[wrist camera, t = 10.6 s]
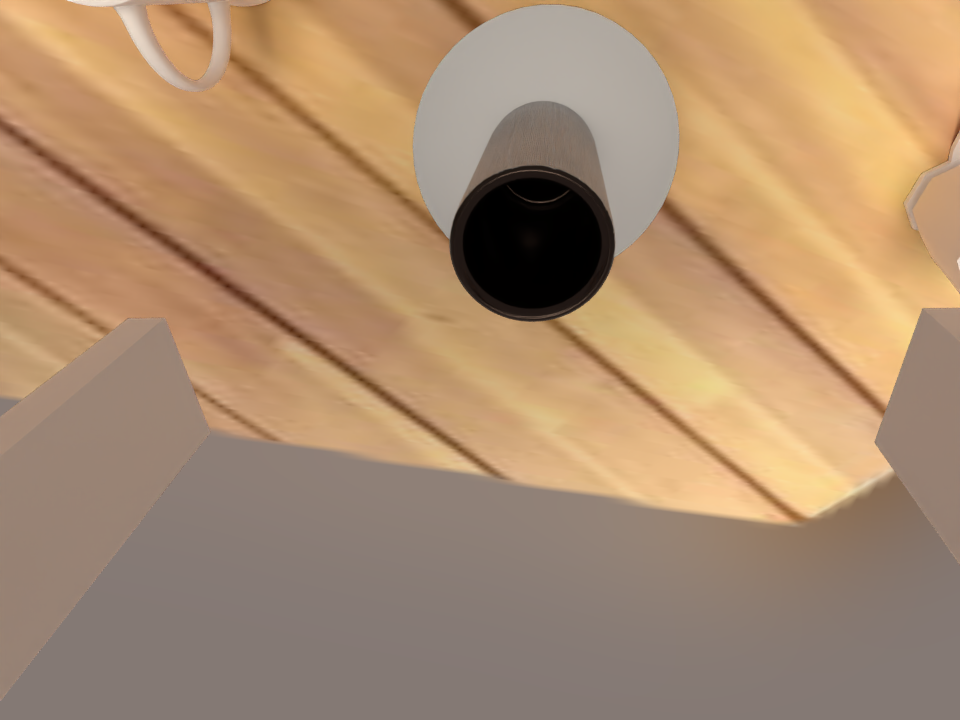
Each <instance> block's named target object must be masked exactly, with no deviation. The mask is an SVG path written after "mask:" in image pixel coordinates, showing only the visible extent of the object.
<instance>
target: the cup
mask: <svg viewBox="0 0 960 720" xmlns="http://www.w3.org/2000/svg"><path fill="white" fill-rule="evenodd" d="M904 206H905V209H906V212H907V215H908V219H909V222H910V225H911V228H913V229H914V230H918V231H919V233H920V236H921V238H922V240H923V242H924V244H925V246H926V248H927V250H928V252H929V254H930V256H931V258H932V259H933V260H934V262H935V263H936V264H937V265H938V266H939V268H940V269H941V270H942V271H943V273H944V274H945V275H946V276H947V278H948V279H949V280H950V281H951V283H952V284H953V285H954V287H955V288H956V289H957V291H958V292H959V293H960V131H959V133H958V135H957V137H956V139H955V141H954V142H953V144H952V146H951V149H950V153H949V158H948V161H946V162H944V163H942V164H940V165H938V166H936V167H934V168H932V169H930V170H928V171H926V172H923V173H921V175H920V177H919V178H918V180H917V182H916V183H915V185H914V186H913V188H912V190H911V191H910V193H909V195H908V196H907V198H906V200H905V201H904Z"/></svg>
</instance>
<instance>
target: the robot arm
mask: <svg viewBox="0 0 960 720" xmlns="http://www.w3.org/2000/svg"><path fill="white" fill-rule="evenodd" d="M209 433H210V430H209V427H208V425H207V422H206V420H205V417H204V414H203V412H202V409H201V407H200V404H199V402H198V399H197V397H196V394H195V392H194V389H193V387H192V384H191V382H190V379H189V377H188V374H187V372H186V369H185V367H184V364H183V362H182V359H181V357H180V354H179V352H178V349H177V347H176V344H175V342H174V339H173V336H172V334H171V331H170V329H169V326H168V324H167V321H166V319H165V318H128V319H127V320H125V321H124V322H123V323H121V324H120V325H119V326H117V327H116V328H115V329H114V330H112V331H111V332H110V333H108V334H107V335H106V336H104V337H103V338H102V339H101V340H99V341H98V342H97V343H95V344H94V345H93V346H91V347H90V348H89V349H88V350H86V351H85V352H84V353H82V354H81V355H80V356H79V357H77V358H76V359H75V360H73V361H72V362H71V363H69V364H68V365H67V366H66V367H64V368H63V369H62V370H60V371H59V372H58V373H56V374H55V375H54V376H53V377H51V378H50V379H49V380H47V381H46V382H45V383H43V384H42V385H41V386H40V387H38V388H37V389H36V390H34V391H33V392H32V393H30V394H29V395H28V396H27V397H25V398H24V399H23V400H21V401H20V402H19V403H18V404H16V405H15V406H14V407H12V408H11V409H10V410H8V411H7V412H6V413H5V414H3V415H2V416H1V417H0V701H1V700H2V698H3V697H4V696H5V695H6V693H7V692H8V691H9V689H10V688H11V687H12V686H13V684H14V683H15V682H16V681H17V679H18V678H19V677H20V675H21V674H22V673H23V672H24V670H25V669H26V668H27V666H28V665H29V664H30V663H31V661H32V660H33V659H34V657H35V656H36V655H37V654H38V652H39V651H40V650H41V649H42V647H43V646H44V645H45V643H46V642H47V641H48V640H49V638H50V637H51V636H52V634H53V633H54V632H55V631H56V629H57V628H58V627H59V626H60V624H61V623H62V622H63V620H64V619H65V618H66V617H67V615H68V614H69V613H70V611H71V610H72V609H73V608H74V606H75V605H76V604H77V602H78V601H79V600H80V599H81V597H82V596H83V595H84V593H85V592H86V591H87V590H88V588H89V587H90V586H91V584H92V583H93V582H94V581H95V579H96V578H97V577H98V576H99V574H100V573H101V572H102V570H103V569H104V568H105V566H106V565H107V564H108V563H109V561H110V560H111V559H112V558H113V556H114V555H115V554H116V553H117V551H118V550H119V549H120V547H121V546H122V545H123V544H124V542H125V541H126V540H127V538H128V537H129V536H130V534H131V533H132V532H133V531H134V529H135V528H136V527H137V526H138V524H139V523H140V522H141V521H142V519H143V518H144V517H145V515H146V514H147V513H148V512H149V510H150V509H151V508H152V506H153V505H154V504H155V503H156V501H157V500H158V499H159V497H160V496H161V495H162V494H163V492H164V491H165V490H166V488H167V487H168V486H169V485H170V483H171V482H172V481H173V479H174V478H175V477H176V476H177V474H178V473H179V472H180V471H181V469H182V468H183V467H184V465H185V464H186V463H187V462H188V460H189V459H190V458H191V456H192V455H193V454H194V453H195V451H196V450H197V449H198V447H199V446H200V445H201V444H202V442H203V441H204V440H205V439H206V437H207V436H208V435H209ZM875 444H876V445H877V447H878V448H879V450H880V451H881V453H882V454H883V455H884V457H885V458H886V460H887V461H888V463H889V464H890V465H891V467H892V468H893V470H894V471H895V473H896V474H897V476H898V477H899V478H900V480H901V481H902V483H903V484H904V486H905V487H906V489H907V490H908V491H909V493H910V494H911V496H912V497H913V499H914V500H915V501H916V503H917V504H918V506H919V507H920V509H921V510H922V511H923V513H924V514H925V516H926V517H927V519H928V520H929V522H930V523H931V524H932V526H933V527H934V529H935V530H936V532H937V533H938V535H939V536H940V538H941V539H942V540H943V542H944V543H945V545H946V546H947V548H948V549H949V551H950V552H951V553H952V555H953V556H954V558H955V559H956V561H957V562H958V564H959V565H960V308H922V311H921V314H920V317H919V319H918V322H917V325H916V328H915V330H914V333H913V336H912V339H911V342H910V344H909V347H908V350H907V353H906V356H905V358H904V361H903V364H902V367H901V369H900V372H899V375H898V378H897V381H896V383H895V386H894V389H893V392H892V395H891V397H890V400H889V403H888V406H887V408H886V411H885V414H884V417H883V420H882V422H881V425H880V428H879V431H878V434H877V436H876V439H875Z"/></svg>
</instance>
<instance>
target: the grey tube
mask: <svg viewBox="0 0 960 720" xmlns="http://www.w3.org/2000/svg"><path fill="white" fill-rule="evenodd" d="M449 246H450V255H451V260H452V264H453V267H454V270H455V272H456V275H457V277H458V279H459V280H460V282H461V284H462V285H463V287H464V288H465V289H466V291H467V292H468V293H469V294H470V295H471V296H472V297H473V298H474V299H475V300H476V301H477V302H478V303H479V304H481V305H482V306H483V307H485V308H487V309H488V310H490V311H492V312H494V313H496V314H498V315H500V316H503V317H506V318H509V319H513V320H519V321H528V322H536V321H546V320H551V319H555V318H559V317H562V316H564V315H567V314H569V313H571V312H573V311H575V310H576V309H578V308H580V307H581V306H583V305H584V304H585V303H586V302H588V301H589V300H590V299H591V298H592V297H593V296H594V295H595V294H596V293H597V292H598V290H599V289H600V288H601V286H602V285H603V283H604V282H605V280H606V278H607V276H608V274H609V272H610V270H611V267H612V264H613V260H614V255H615V246H616V240H615V230H614V224H613V219H612V215H611V210H610V206H609V202H608V197H607V193H606V188H605V184H604V179H603V175H602V171H601V166H600V162H599V157H598V153H597V148H596V144H595V141H594V138H593V135H592V133H591V131H590V129H589V127H588V126H587V124H586V123H585V121H584V120H583V119H582V118H581V117H580V116H579V115H578V114H577V113H576V112H575V111H573V110H572V109H570V108H569V107H567V106H565V105H562V104H559V103H556V102H551V101H536V102H530V103H527V104H524V105H522V106H520V107H517V108H516V109H514V110H513V111H511V112H510V113H509V114H507V115H506V116H505V117H504V118H503V119H502V120H501V122H500V123H499V124H498V125H497V127H496V128H495V130H494V131H493V133H492V135H491V137H490V139H489V142H488V144H487V146H486V148H485V150H484V152H483V154H482V157H481V159H480V161H479V163H478V165H477V167H476V170H475V172H474V174H473V176H472V178H471V180H470V182H469V185H468V187H467V189H466V191H465V193H464V195H463V198H462V200H461V202H460V204H459V206H458V209H457V211H456V213H455V216H454V219H453V222H452V226H451V231H450V239H449Z"/></svg>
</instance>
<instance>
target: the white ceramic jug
mask: <svg viewBox="0 0 960 720" xmlns="http://www.w3.org/2000/svg"><path fill="white" fill-rule="evenodd" d="M68 1H71V2H74V3H77V4H82V5H87V6H95V7H114V9H115V10H116V11H117V13H118V14H119V16H120V17H121V19H122V21H123V23H124V25H125V27H126V29H127V31H128V32H129V34H130V36H131V38H132V40H133V42H134V43H135V45H136V47H137V48H138V50H139V51H140V53H141V54H142V56H143V57H144V58H145V60H146V61H147V62H148V64H149V65H150V66H151V67H152V68H153V69H154V70H155V71H156V72H157V73H158V74H159V75H160V76H161V77H162V78H163V79H164V80H166V81H167V82H168V83H170V84H171V85H173V86H175V87H177V88H179V89H182V90H185V91H191V92H200V91H205V90H208V89H210V88H212V87H214V86H215V85H216V84H217V83H218V82H219V81H220V80H221V78H222V77H223V75H224V73H225V71H226V68H227V65H228V62H229V57H230V51H231V36H232V33H231V14H230V5H233V6H255V5H259V4H263V3H265V2H268V1H270V0H68ZM186 3H207V4H208V7H209V10H210V13H211V17H212V23H213V51H212V57H211V61H210V64H209V67H208V69H207V71H206V73H205V74H204V75H203V76H202V77H201V78H200V79H199V80H192V79H190V78H188V77H186V76H185V75H183V74H182V73H181V72H180V71H179V70H178V69H177V68H176V67H175V66H174V65H173V63H172V62H171V61H170V60H169V58H168V57H167V55H166V54H165V52H164V51H163V49H162V48H161V46H160V44H159V42H158V40H157V38H156V36H155V34H154V32H153V30H152V27H151V24H150V21H149V18H148V14H147V10H146V5H163V4H186Z"/></svg>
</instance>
